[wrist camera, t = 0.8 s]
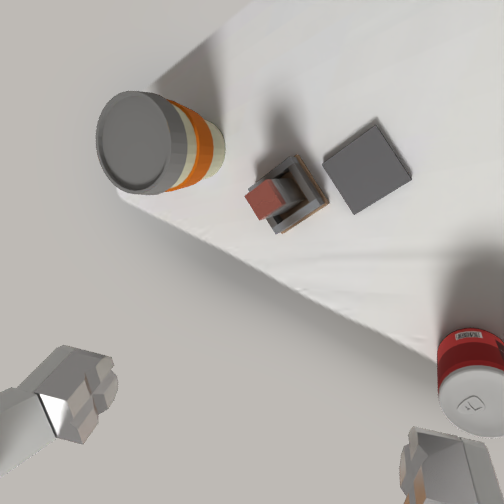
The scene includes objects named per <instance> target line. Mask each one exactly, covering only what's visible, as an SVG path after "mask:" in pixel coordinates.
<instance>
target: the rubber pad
mask: <svg viewBox="0 0 504 504" xmlns="http://www.w3.org/2000/svg"><path fill="white" fill-rule="evenodd" d="M322 166H323V167H324V169H325V170H326V172H327V173H328V175H329V177H330V178H331V180H332V181H333V183H334V184H335V186H336V188H337V189H338V191H339V192H340V194H341V195H342V197H343V199H344V200H345V202H346V203H347V205H348V206H349V208H350V210H351V211H352V213H353V214H354V215H355V214H357V213H358V212H360V211H362V210H363V209H365V208H366V207H368V206H370V205H371V204H373V203H375V202H376V201H378V200H379V199H381V198H383V197H384V196H386V195H388V194H389V193H391V192H393V191H394V190H396V189H397V188H399V187H401V186H402V185H404V184H406V183H407V182H409V181H410V180H412V179H411V178H410V176H409V175H408V173H407V172H406V170H405V169H404V167H403V166H402V164H401V162H400V161H399V159H398V158H397V156H396V155H395V153H394V152H393V150H392V149H391V147H390V146H389V144H388V143H387V141H386V140H385V138H384V136H383V135H382V133H381V132H380V130H379V129H378V127H377V126H376V125H375V126H374V127H372V128H371V129H370V130H368V131H367V132H366V133H364V134H363V135H361V136H360V137H359V138H357V139H356V140H354V141H353V142H352V143H350V144H349V145H348V146H346V147H345V148H343V149H342V150H341V151H339V152H338V153H337V154H335V155H334V156H332V157H331V158H330V159H328V160H327V161H326V162H324V163H323V164H322Z"/></svg>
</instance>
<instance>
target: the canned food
mask: <svg viewBox="0 0 504 504" xmlns="http://www.w3.org/2000/svg"><path fill="white" fill-rule="evenodd" d="M437 376H438V398H439V404H440V407H441V410H442V412H443V414H444V415H445V417H446V418H447V419H448V420H449V421H450V422H451V424H453V425H454V426H455V427H457V428H458V429H460V430H461V431H463V432H465V433H467V434H470V435H473V436H477V437H482V438H500V437H504V342H503V341H502V340H500V339H499V338H498V337H497V336H495V335H494V334H492V333H490V332H487V331H485V330H481V329H476V328H464V329H460V330H457V331H454V332H452V333H451V334H449V335H448V336H447V337H446V338H445V339H444V340H443V341H442V342H441V344H440V345H439V348H438V352H437Z"/></svg>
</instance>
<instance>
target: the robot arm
mask: <svg viewBox="0 0 504 504" xmlns="http://www.w3.org/2000/svg"><path fill="white" fill-rule="evenodd" d="M113 366H114V363H113V360H112V357H109V356H105V355H101V354H97V353H94V352H89V351H86V350H81V349H78V348H74V347H70V346H66V345H62V346H60V347H58V348H56V349H55V350H54V351H53V352H52V353H51V354H50V355H49V356H48V357H47V358H46V359H45V360H44V361H43V363H41V364H40V365H39V366H38V367H37V368H36V369H35V370H34V371H33V372H32V373H31V374H30V375H29V376H28V377H27V378H26V379H25V380H24V381H23V382H22V383H21V384H20V385H19V386H18V387H17V388H12V387H11V388H9V389H7V390H5V391H3V392H0V478H1V477H3V476H4V475H5V474H7V473H8V472H10V471H11V470H12V469H14V468H16V467H17V466H18V465H20V464H21V463H23V462H24V461H25V460H27V459H28V458H30V457H31V456H33V455H34V454H36V453H37V452H39V451H40V450H41V449H43V448H44V447H46V446H47V445H49V444H50V443H52V442H53V441H54V440H56V438H60V439H64V440H68V441H72V442H75V443H79V444H84V443H85V441H86V440H87V438H88V437H89V436H90V434H91V433H92V431H93V430H94V428H95V427H96V425H97V424H98V415H99V414H100V413H102V412H104V411H105V410H107V409H108V408H109V407H110V405H111V404H112V402H113V401H114V399H115V396H116V393H117V391H118V379H117V376H116V375H115V374H114V373H113V371H112V370H111V369H112V368H113ZM55 437H56V438H55ZM408 437H409V444H408V445H406V446H404V448H403V451H402V454H401V460H400V487H401V489H402V490H403V492H404V494H405V495H406V500H405V502H404V504H504V498H503V495H502V492H501V489H500V486H499V483H498V479H497V476H496V473H495V470H494V467H493V464H492V461H491V458H490V454H489V451H488V448H487V446H486V445H485V444H484V443H483V442H480V441H475V440H471V439H466V438H461V437H458V436H456V435H451V434H446V433H442V432H437V431H433V430H428V429H423V428H418V427H412V428H411V430H410V432H409V435H408Z"/></svg>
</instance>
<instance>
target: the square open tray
mask: <svg viewBox="0 0 504 504" xmlns="http://www.w3.org/2000/svg"><path fill="white" fill-rule="evenodd" d="M282 178H292V179H293V180H294V182H295V183H296V185H297V186H298V188H299V190H300V191H301V193H302V194H303V196H304V198H305V200H303V201H302V202H301V203H299V204H298V205H296V206H295V207H293V208H292V209H290V210H289V211H287V212H286V213H283V214H280V215H276V216H273V217H269V218H266V219H267V221H268V223H269V224H270V226H271V227H272V229H273V231H274V232H275V234H278V233H280V232H281V233H282V234H283V233H285V232H286V231H288V230H290V229H291V228H293V227H294V226H296V225H297V224H299V223H300V222H302V221H303V220H305V219H306V218H308V217H309V216H311V215H312V214H314V213H315V212H317V211H319V210H320V209H322V208H323V207H325V206H326V205H328V204H329V202H328V200H327V199H326V197H325V195H324V194H323V192H322V191H321V189H320V188H319V186H318V184H317V183H316V181H315V180H314V178H313V176H312V175H311V173H310V172H309V170H308V169H307V167H306V165H305V164H304V162H303V161H302V159H301V158H300V156H299V155H295V156H294V157H288V158H287V159H286V160H285V161H283V162H282V163H281V164H279V165H278V166H277V167H276V168H274V169H273V170H272V171H270V172H269V173H268V174H267V175H265V176H264V177H263V178H261V179H260V180H259V181H258V182H256V183H255V184H254V185H252V186H251V187H250V188H249V189H248V190H249V192H251V191H252V190H253V189H254V188H256V187H257V186H258V185H260V184H261V183H262V182H264V181H265V180H266V179H282Z"/></svg>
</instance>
